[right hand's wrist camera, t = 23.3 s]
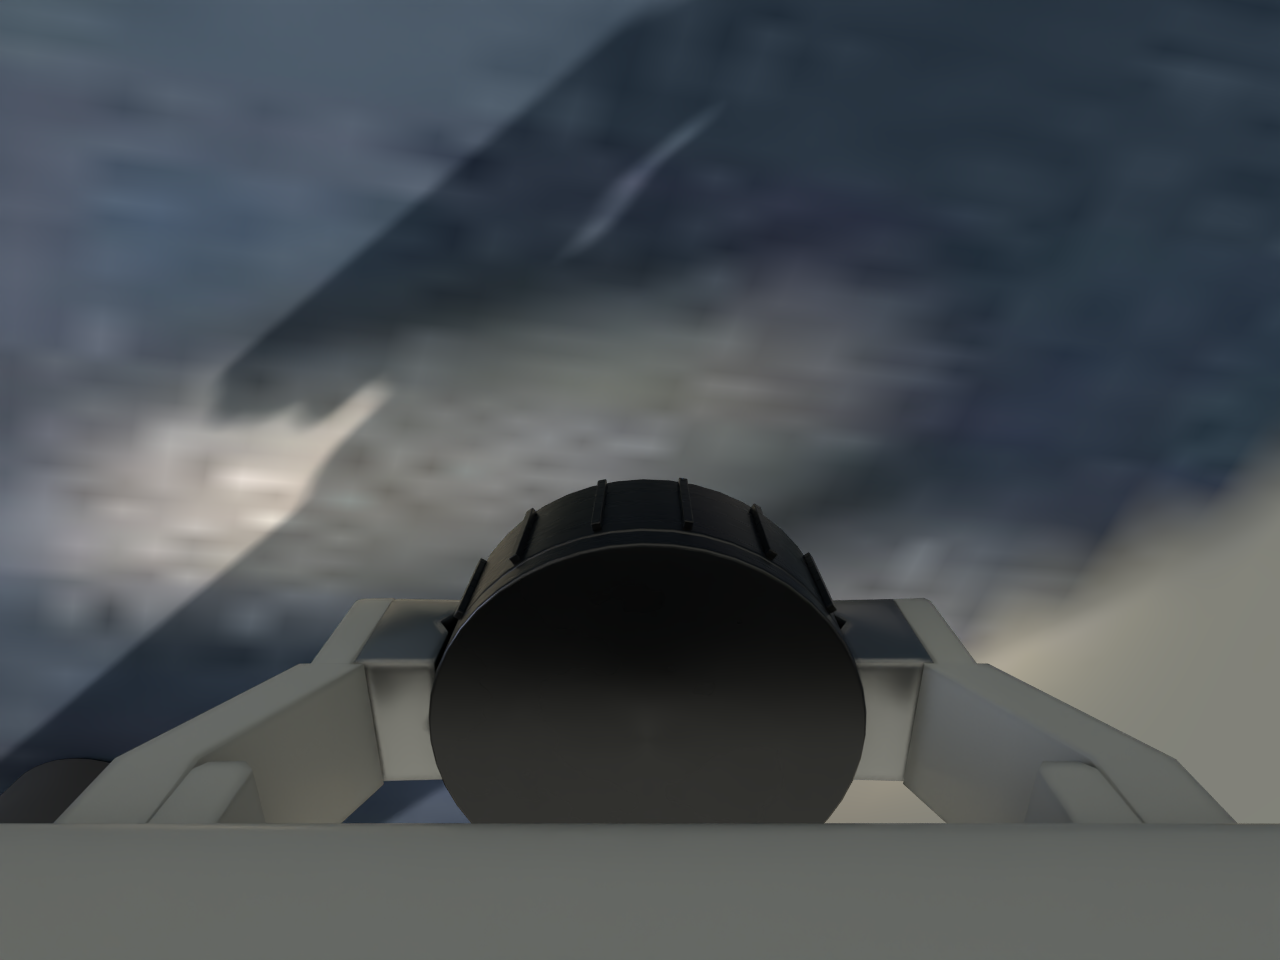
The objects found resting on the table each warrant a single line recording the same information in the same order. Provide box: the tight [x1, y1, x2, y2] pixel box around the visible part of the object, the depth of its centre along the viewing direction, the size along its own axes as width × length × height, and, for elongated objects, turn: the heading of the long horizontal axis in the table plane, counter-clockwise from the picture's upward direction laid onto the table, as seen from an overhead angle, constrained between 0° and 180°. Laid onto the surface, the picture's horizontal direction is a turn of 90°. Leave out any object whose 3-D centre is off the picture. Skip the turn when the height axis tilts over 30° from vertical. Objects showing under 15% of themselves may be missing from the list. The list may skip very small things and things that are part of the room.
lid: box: [428, 478, 867, 823], centre depth 9 cm, size 5×5×2 cm
